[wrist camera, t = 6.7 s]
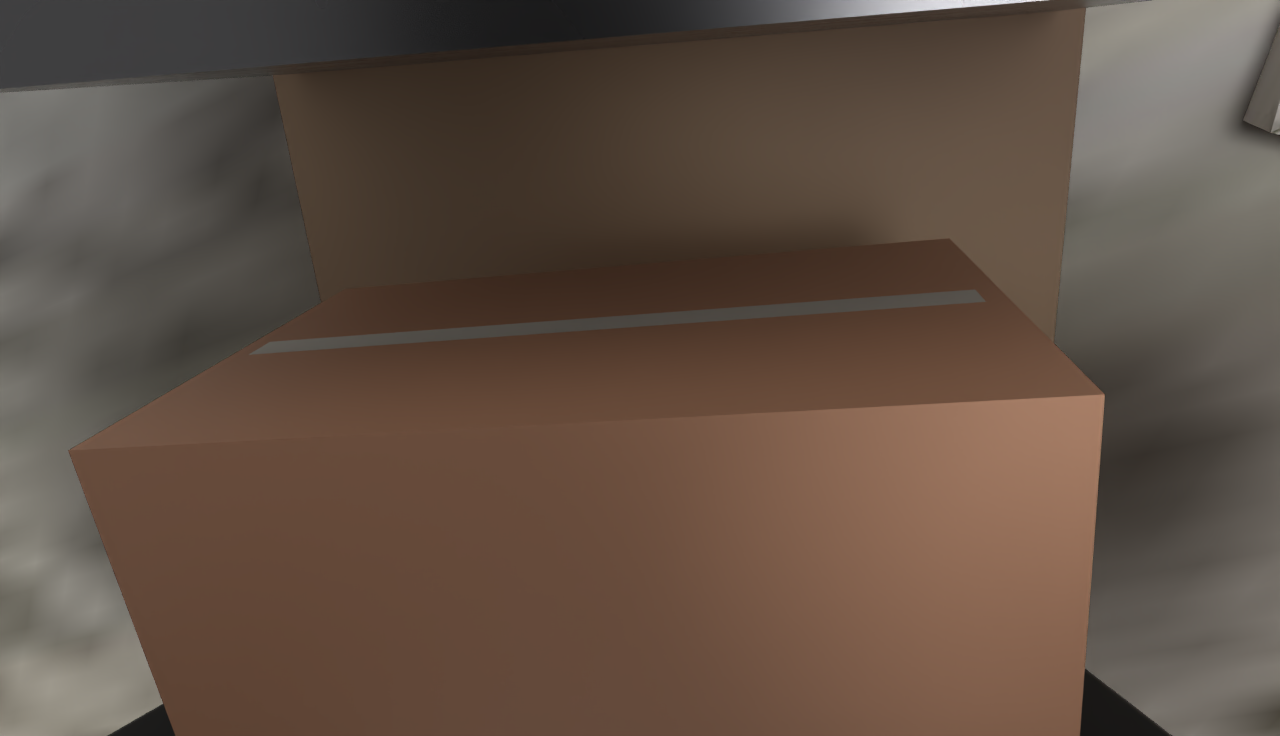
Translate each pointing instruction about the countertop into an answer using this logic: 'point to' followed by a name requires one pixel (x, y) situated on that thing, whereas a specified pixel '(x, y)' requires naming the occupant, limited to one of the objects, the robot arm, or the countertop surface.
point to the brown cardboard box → (621, 508)
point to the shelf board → (697, 154)
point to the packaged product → (1267, 93)
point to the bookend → (398, 32)
